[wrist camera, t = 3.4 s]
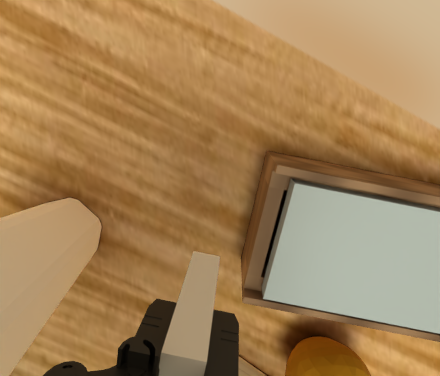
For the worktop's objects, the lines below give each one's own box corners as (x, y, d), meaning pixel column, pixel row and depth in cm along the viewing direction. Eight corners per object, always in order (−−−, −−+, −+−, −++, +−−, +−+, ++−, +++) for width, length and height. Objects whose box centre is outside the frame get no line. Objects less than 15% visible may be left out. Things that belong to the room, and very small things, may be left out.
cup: (3, 222, 31) (-264, 352, 14) (57, 160, 28) (-187, 231, 12) (81, 288, 33) (-77, 470, 16) (138, 234, 30) (21, 384, 14)
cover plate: (261, 287, 24) (263, 298, 23) (290, 178, 21) (294, 183, 20) (441, 323, 24) (454, 336, 23) (494, 218, 21) (513, 226, 20)
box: (241, 258, 30) (242, 302, 23) (266, 150, 27) (277, 165, 20) (403, 290, 30) (452, 344, 23) (449, 186, 27) (522, 213, 20)
